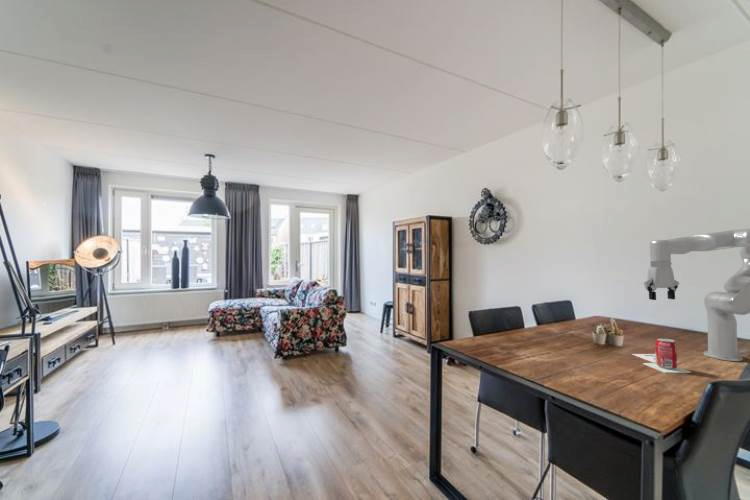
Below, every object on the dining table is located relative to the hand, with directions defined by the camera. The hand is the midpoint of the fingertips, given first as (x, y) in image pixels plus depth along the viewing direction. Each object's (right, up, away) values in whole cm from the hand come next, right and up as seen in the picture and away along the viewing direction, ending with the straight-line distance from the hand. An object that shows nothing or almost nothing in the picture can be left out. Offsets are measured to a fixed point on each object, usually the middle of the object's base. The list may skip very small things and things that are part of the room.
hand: (662, 299), depth 155 cm
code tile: (-8, -28, -5) cm, 29 cm away
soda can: (-15, -27, -18) cm, 36 cm away
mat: (-15, -27, -18) cm, 36 cm away
